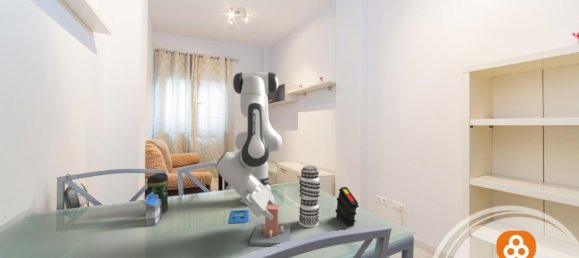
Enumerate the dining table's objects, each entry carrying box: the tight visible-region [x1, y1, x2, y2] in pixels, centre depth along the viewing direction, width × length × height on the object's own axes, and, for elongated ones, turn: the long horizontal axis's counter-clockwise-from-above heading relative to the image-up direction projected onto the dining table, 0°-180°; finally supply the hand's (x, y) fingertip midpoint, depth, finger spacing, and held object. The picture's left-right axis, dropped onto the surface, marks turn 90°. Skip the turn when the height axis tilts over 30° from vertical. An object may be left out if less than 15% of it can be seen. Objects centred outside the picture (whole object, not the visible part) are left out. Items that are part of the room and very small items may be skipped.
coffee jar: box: [146, 172, 169, 215], centre depth 116 cm, size 10×8×19 cm
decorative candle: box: [298, 165, 321, 228], centre depth 106 cm, size 9×9×25 cm
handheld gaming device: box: [228, 209, 250, 225], centre depth 113 cm, size 8×1×15 cm
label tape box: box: [145, 191, 163, 227], centre depth 105 cm, size 9×4×12 cm, turn 12°
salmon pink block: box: [264, 204, 279, 236], centre depth 94 cm, size 5×5×10 cm
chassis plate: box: [249, 223, 291, 247], centre depth 94 cm, size 16×14×4 cm
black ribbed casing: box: [335, 186, 360, 227], centre depth 109 cm, size 4×13×15 cm, turn 18°
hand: (273, 213), depth 94 cm, fingers open, 8 cm apart
